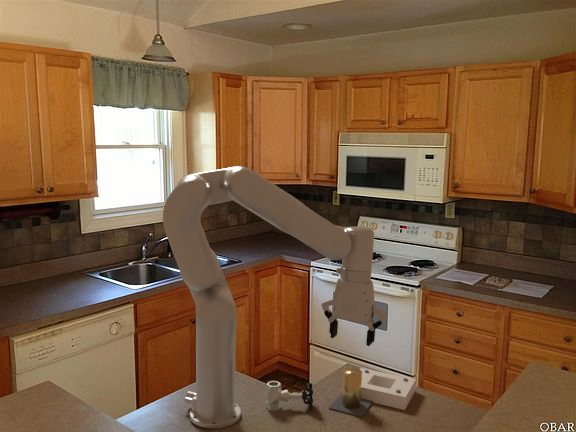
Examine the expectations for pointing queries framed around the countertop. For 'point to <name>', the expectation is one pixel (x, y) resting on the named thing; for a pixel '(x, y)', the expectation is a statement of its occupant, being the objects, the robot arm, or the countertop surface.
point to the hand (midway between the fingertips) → (351, 340)
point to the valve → (285, 395)
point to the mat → (356, 412)
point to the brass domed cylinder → (352, 388)
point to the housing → (387, 388)
